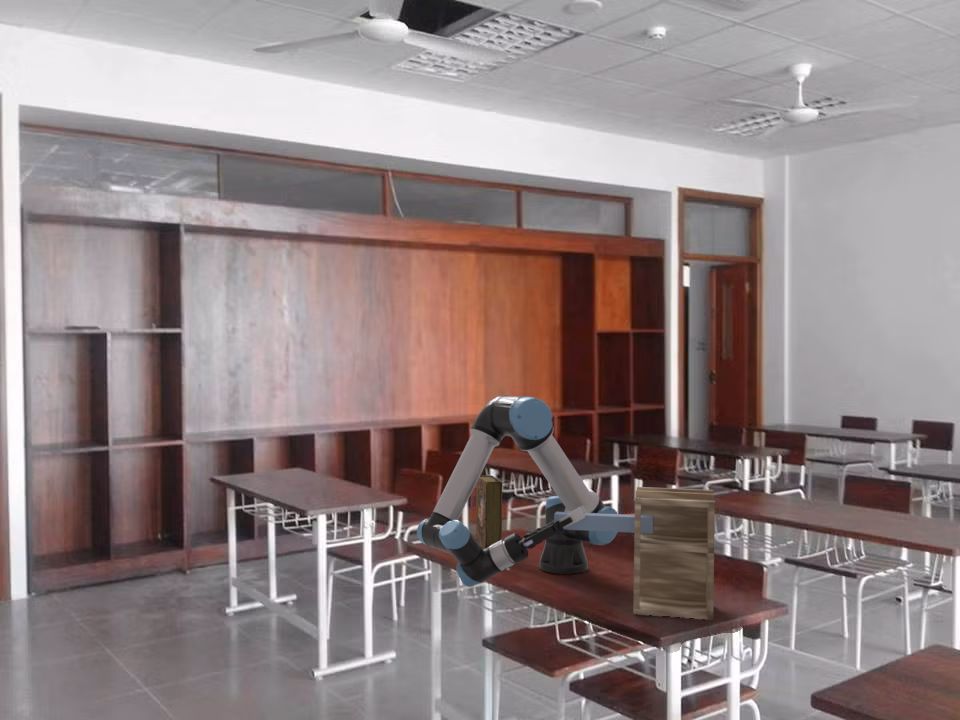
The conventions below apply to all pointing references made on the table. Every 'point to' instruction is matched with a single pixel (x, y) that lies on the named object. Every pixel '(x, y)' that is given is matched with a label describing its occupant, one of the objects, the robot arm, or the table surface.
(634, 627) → the table surface
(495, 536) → the book
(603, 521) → the block
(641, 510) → the shelf stand
